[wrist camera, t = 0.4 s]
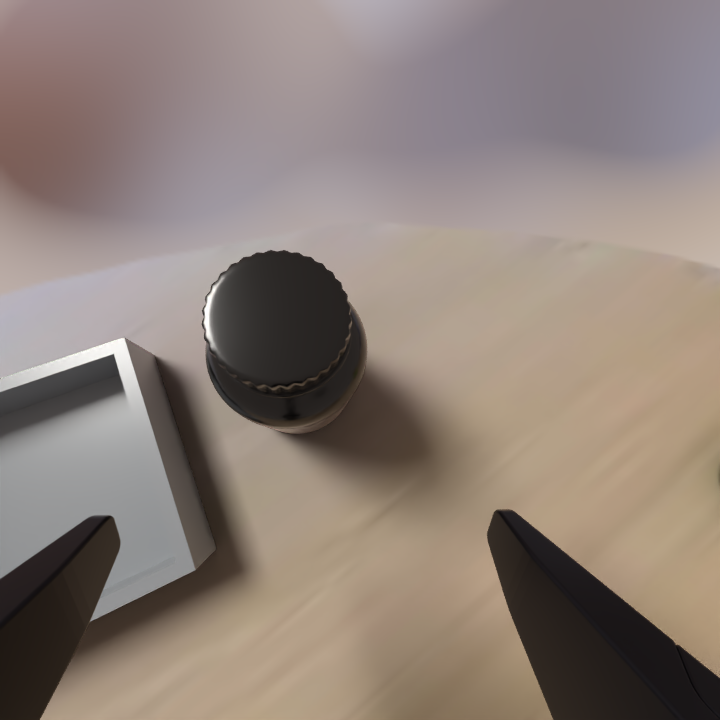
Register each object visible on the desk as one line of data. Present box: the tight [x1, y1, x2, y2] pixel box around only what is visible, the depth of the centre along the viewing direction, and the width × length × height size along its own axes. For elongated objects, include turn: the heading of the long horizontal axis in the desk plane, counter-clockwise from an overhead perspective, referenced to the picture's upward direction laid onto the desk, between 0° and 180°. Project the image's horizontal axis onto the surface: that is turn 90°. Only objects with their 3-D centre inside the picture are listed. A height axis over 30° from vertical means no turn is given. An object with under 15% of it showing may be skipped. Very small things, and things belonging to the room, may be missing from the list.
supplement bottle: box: [202, 250, 367, 434], centre depth 16 cm, size 7×7×12 cm
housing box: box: [0, 338, 217, 622], centre depth 17 cm, size 12×12×4 cm
